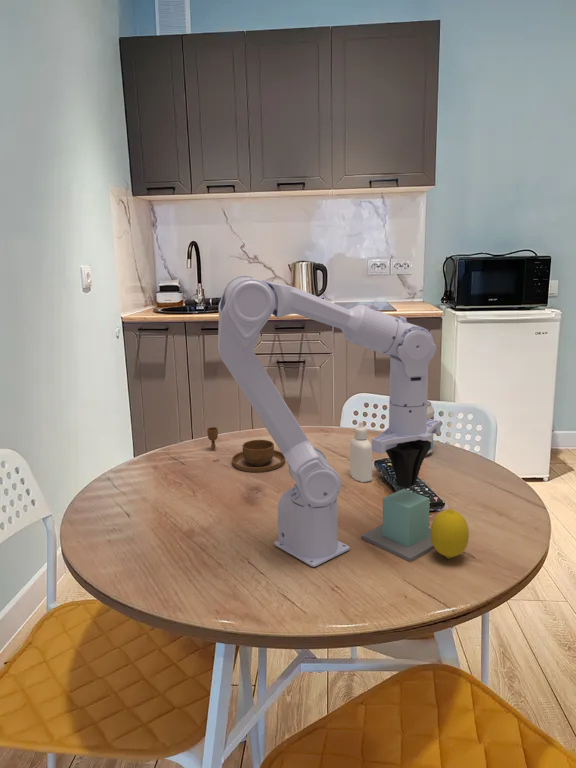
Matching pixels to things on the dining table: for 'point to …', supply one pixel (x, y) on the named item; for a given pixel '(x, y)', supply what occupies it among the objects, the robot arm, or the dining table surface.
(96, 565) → the dining table surface
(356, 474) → the eye dropper bottle
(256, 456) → the place setting
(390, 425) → the robot arm
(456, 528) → the lemon
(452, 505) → the dining table surface
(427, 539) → the base
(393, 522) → the upright teal cuboid
